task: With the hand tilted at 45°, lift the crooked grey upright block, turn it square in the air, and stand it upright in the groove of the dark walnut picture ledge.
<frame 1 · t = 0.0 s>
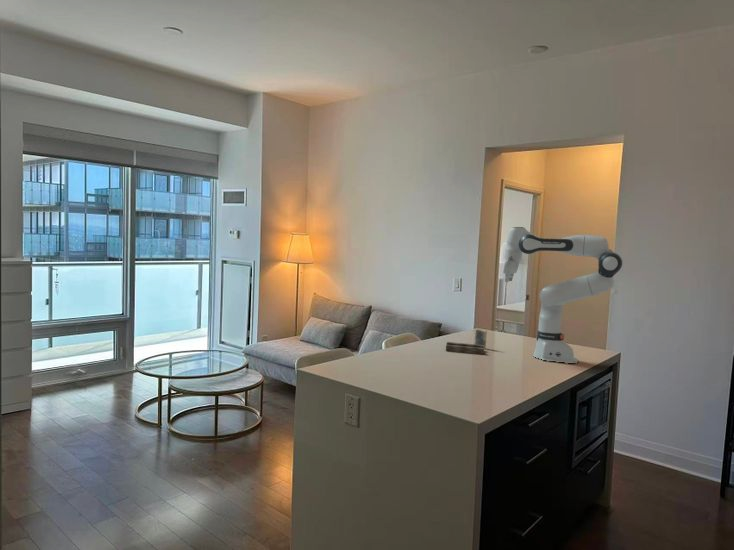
hand: (508, 281, 292), 39 cm above the countertop, tool pointing down, fingers open, 8 cm apart
grey upright block: (480, 347, 300), on the countertop
ledge: (464, 350, 290), on the countertop
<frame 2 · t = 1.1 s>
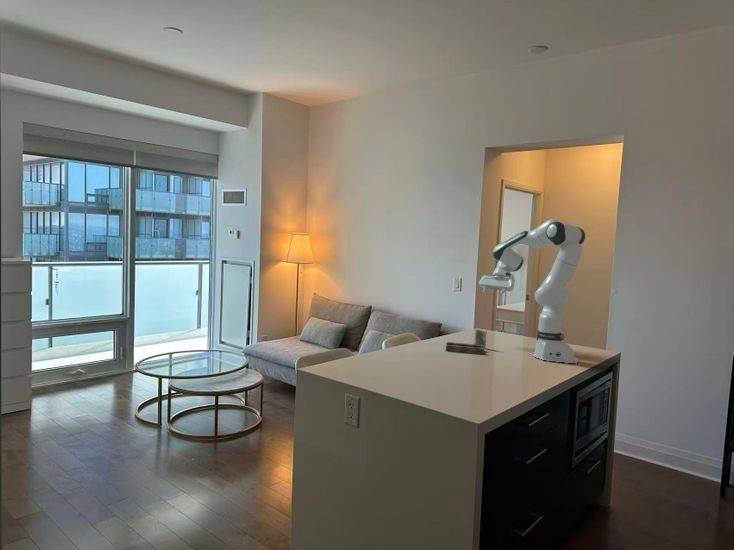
hand: (492, 293, 308), 30 cm above the countertop, tool tilted 45°, fingers open, 8 cm apart
nothing on the countertop moved.
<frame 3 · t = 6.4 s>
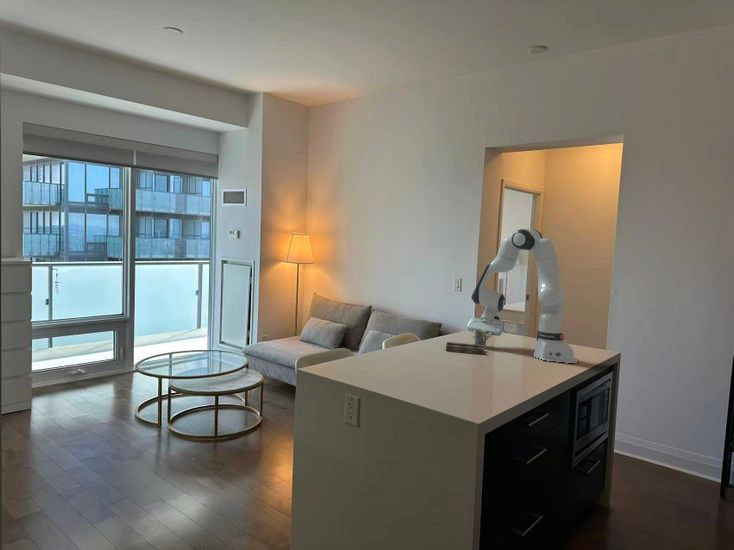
hand: (480, 338, 299), 5 cm above the countertop, tool tilted 45°, fingers closed on grey upright block, 5 cm apart
grey upright block: (480, 347, 300), on the countertop, touching gripper
when the fingers open (8 cm above the countertop, at t = 13.0 s): grey upright block stays where it is, resting on ledge.
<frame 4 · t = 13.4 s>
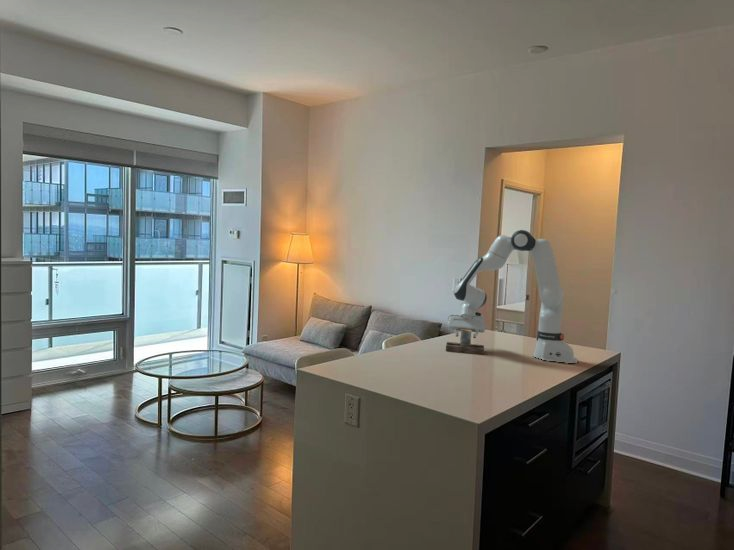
hand: (465, 336, 289), 8 cm above the countertop, tool tilted 45°, fingers open, 8 cm apart
grey upright block: (465, 348, 290), point 1 cm above the countertop, touching ledge
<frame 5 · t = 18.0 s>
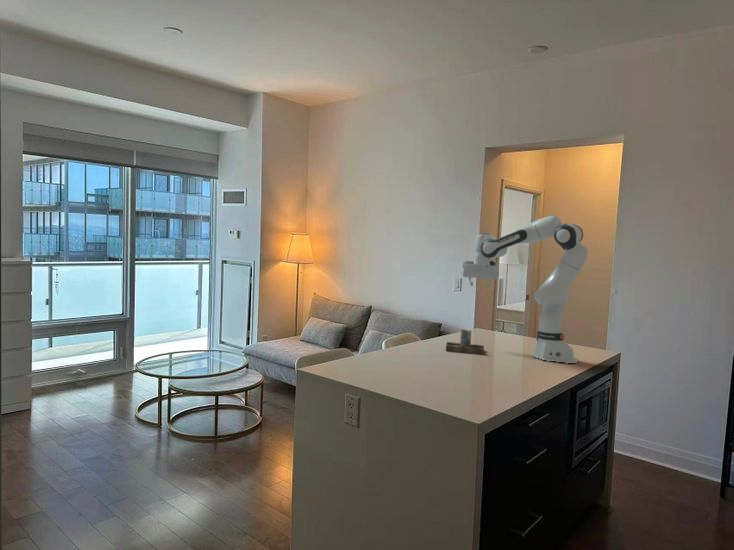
hand: (479, 286, 305), 34 cm above the countertop, tool pointing down, fingers open, 8 cm apart
nothing on the countertop moved.
at the end: grey upright block 0.1 cm off-centre on the ledge, point 1.5 cm above the ledge's base; grey upright block tilted 0°; the gripper is holding nothing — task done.
